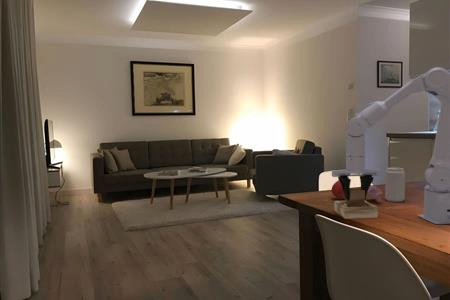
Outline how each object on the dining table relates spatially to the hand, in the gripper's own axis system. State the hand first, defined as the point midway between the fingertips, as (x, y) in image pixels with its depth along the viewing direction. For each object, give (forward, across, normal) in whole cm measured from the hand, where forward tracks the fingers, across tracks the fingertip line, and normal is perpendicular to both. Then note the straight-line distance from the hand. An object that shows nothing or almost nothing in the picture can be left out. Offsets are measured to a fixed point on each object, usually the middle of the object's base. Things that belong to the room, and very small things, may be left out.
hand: (355, 198), depth 118 cm
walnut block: (+2, 0, 0) cm, 2 cm away
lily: (+5, -12, -17) cm, 22 cm away
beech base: (+5, 0, 0) cm, 5 cm away
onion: (+5, -2, -22) cm, 22 cm away
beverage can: (+5, -22, -18) cm, 28 cm away
